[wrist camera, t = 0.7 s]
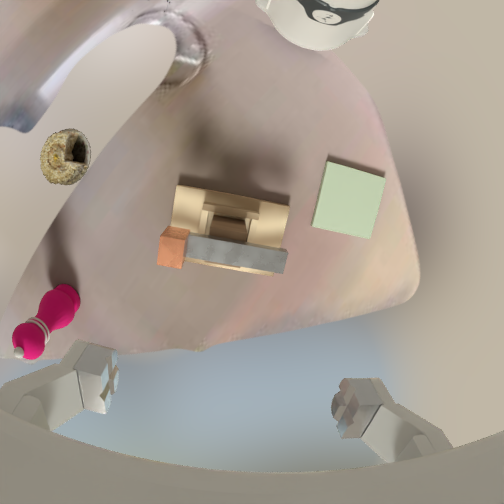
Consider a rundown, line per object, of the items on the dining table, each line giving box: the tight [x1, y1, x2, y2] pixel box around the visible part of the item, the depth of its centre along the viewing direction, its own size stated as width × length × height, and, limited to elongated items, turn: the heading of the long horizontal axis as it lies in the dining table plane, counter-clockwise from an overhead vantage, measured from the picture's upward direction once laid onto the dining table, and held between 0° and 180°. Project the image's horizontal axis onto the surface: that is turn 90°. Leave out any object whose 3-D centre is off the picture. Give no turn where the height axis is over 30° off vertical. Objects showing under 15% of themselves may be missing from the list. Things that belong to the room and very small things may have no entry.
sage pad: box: [311, 161, 386, 239], centre depth 50 cm, size 11×11×1 cm
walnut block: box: [204, 215, 247, 268], centre depth 46 cm, size 5×5×8 cm
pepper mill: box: [12, 284, 80, 360], centre depth 44 cm, size 7×7×20 cm
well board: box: [171, 185, 290, 276], centre depth 50 cm, size 12×18×4 cm, turn 78°
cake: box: [40, 129, 91, 185], centre depth 43 cm, size 10×10×5 cm
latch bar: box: [157, 226, 288, 274], centre depth 39 cm, size 4×16×5 cm, turn 78°
